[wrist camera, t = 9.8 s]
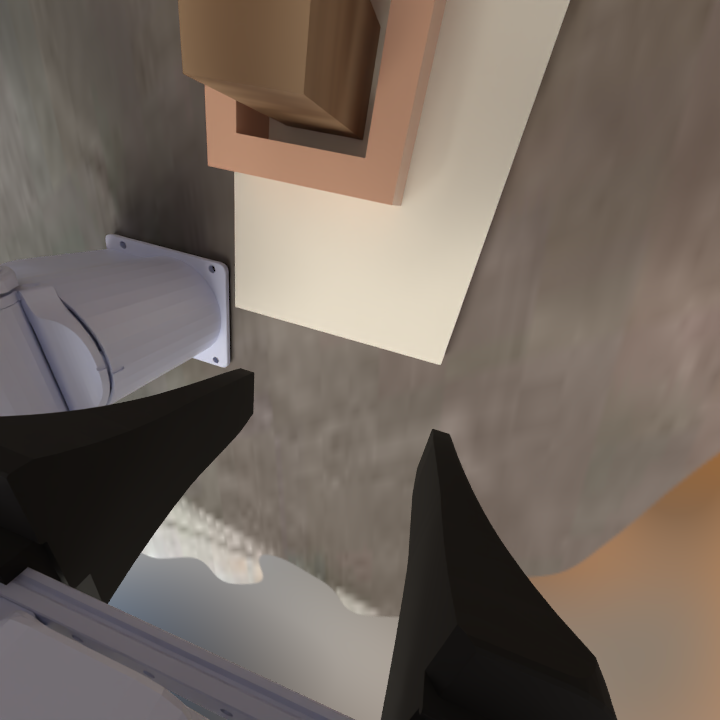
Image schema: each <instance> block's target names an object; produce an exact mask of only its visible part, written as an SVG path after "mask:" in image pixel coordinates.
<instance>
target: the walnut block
mask: <svg viewBox="0 0 720 720" xmlns="http://www.w3.org/2000/svg"><path fill="white" fill-rule="evenodd" d="M178 7H179V22H180V37H181V52H182V67H183V74H185V75H186V76H188V77H190V78H192V79H194V80H196V81H198V82H200V83H202V84H204V85H206V86H208V87H210V88H212V89H214V90H216V91H218V92H220V93H222V94H224V95H226V96H228V97H230V98H232V99H234V100H236V101H238V102H240V103H242V104H244V105H246V106H248V107H250V108H252V109H254V110H256V111H258V112H260V113H262V114H264V115H266V116H268V117H270V118H272V119H274V120H276V121H278V122H280V123H282V124H284V125H286V126H290V127H295V128H301V129H306V130H311V131H317V132H322V133H327V134H333V135H338V136H343V137H349V138H354V139H359V140H363V137H364V131H365V125H366V118H367V112H368V105H369V99H370V93H371V86H372V80H373V73H374V67H375V61H376V54H377V48H378V41H379V35H380V28H381V27H380V24H379V21H378V19H377V16H376V14H375V11H374V9H373V6H372V4H371V1H370V0H178Z"/></svg>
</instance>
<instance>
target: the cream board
mask: <svg viewBox="0 0 720 720" xmlns="http://www.w3.org/2000/svg"><path fill="white" fill-rule="evenodd" d="M370 1H371V4H372V6H373V9H374V11H375V14H376V16H377V19H378V21H379V24H380V27H381V28H380V35H379V41H378V48H377V54H376V61H375V67H374V73H373V80H372V86H371V93H370V99H369V105H368V112H367V118H366V125H365V131H364V137H363V140H359V139H354V138H349V137H343V136H338V135H333V134H327V133H322V132H317V131H311V130H306V129H301V128H295V127H290V126H286V125H284V124H282V123H280V122H278V121H276V120H274V119H272V118H270V117H269V140H274V141H280V142H285V143H290V144H295V145H300V146H305V147H310V148H315V149H321V150H326V151H331V152H336V153H341V154H346V155H351V156H356V157H361V158H365V157H366V151H367V145H368V139H369V133H370V127H371V121H372V114H373V108H374V102H375V96H376V90H377V84H378V77H379V71H380V65H381V59H382V53H383V47H384V41H385V34H386V28H387V22H388V16H389V10H390V4H391V0H370ZM569 2H570V0H447V1H446V6H445V10H444V15H443V19H442V24H441V28H440V33H439V37H438V42H437V46H436V51H435V55H434V60H433V64H432V69H431V73H430V78H429V82H428V87H427V91H426V96H425V100H424V105H423V109H422V114H421V118H420V123H419V127H418V132H417V136H416V141H415V145H414V150H413V154H412V159H411V163H410V168H409V172H408V177H407V181H406V186H405V190H404V195H403V199H402V204H401V206H394V205H388V204H383V203H378V202H374V201H369V200H364V199H360V198H355V197H351V196H346V195H341V194H337V193H332V192H327V191H323V190H318V189H313V188H309V187H304V186H299V185H295V184H290V183H285V182H281V181H276V180H272V179H267V178H262V177H258V176H253V175H248V174H244V173H239V172H234V191H235V307H238V308H242V309H245V310H249V311H252V312H256V313H259V314H263V315H266V316H270V317H273V318H277V319H280V320H284V321H287V322H291V323H294V324H298V325H301V326H305V327H308V328H312V329H315V330H319V331H322V332H326V333H330V334H333V335H337V336H340V337H344V338H347V339H351V340H354V341H358V342H361V343H365V344H368V345H372V346H375V347H379V348H382V349H386V350H389V351H393V352H396V353H400V354H403V355H407V356H410V357H414V358H417V359H421V360H425V361H428V362H432V363H435V364H439V365H441V362H442V360H443V357H444V354H445V351H446V348H447V346H448V343H449V340H450V337H451V334H452V331H453V329H454V326H455V323H456V320H457V317H458V315H459V312H460V309H461V306H462V303H463V301H464V298H465V295H466V292H467V289H468V286H469V284H470V281H471V278H472V275H473V272H474V270H475V267H476V264H477V261H478V258H479V255H480V253H481V250H482V247H483V244H484V241H485V239H486V236H487V233H488V230H489V227H490V224H491V222H492V219H493V216H494V213H495V210H496V208H497V205H498V202H499V199H500V196H501V194H502V191H503V188H504V185H505V182H506V179H507V177H508V174H509V171H510V168H511V165H512V163H513V160H514V157H515V154H516V151H517V148H518V146H519V143H520V140H521V137H522V134H523V132H524V129H525V126H526V123H527V120H528V117H529V115H530V112H531V109H532V106H533V103H534V101H535V98H536V95H537V92H538V89H539V86H540V84H541V81H542V78H543V75H544V72H545V70H546V67H547V64H548V61H549V58H550V56H551V53H552V50H553V47H554V44H555V41H556V39H557V36H558V33H559V30H560V27H561V25H562V22H563V19H564V16H565V13H566V10H567V8H568V5H569Z"/></svg>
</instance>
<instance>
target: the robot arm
mask: <svg viewBox="0 0 720 720" xmlns="http://www.w3.org/2000/svg"><path fill="white" fill-rule="evenodd" d="M125 244H126V245H125ZM106 245H107V249H103V250H95V251H86V252H78V253H70V254H61V255H53V256H44V257H36V258H27V259H19V260H14V261H9V262H6V263H3V264H0V720H209V719H207V718H206V717H204V716H202V715H200V714H199V713H197V712H195V711H194V710H192V709H190V708H188V707H187V706H185V705H184V704H183V703H182V702H181V701H180V700H179V699H178V698H177V697H175V696H174V695H173V694H171V693H170V692H169V691H168V690H170V691H171V692H174V693H175V694H177V695H179V696H182V697H184V698H185V699H187V700H190V701H192V702H194V703H196V704H198V705H200V706H202V707H204V708H206V709H208V710H210V711H212V712H214V713H216V714H218V715H220V716H222V717H224V718H226V719H228V720H355V719H353V718H350V717H348V716H346V715H344V714H342V713H339V712H338V711H335V710H333V709H331V708H329V707H327V706H324V705H323V704H320V703H318V702H316V701H314V700H312V699H310V698H308V697H305V696H303V695H301V694H299V693H297V692H295V691H292V690H290V689H288V688H286V687H284V686H282V685H280V684H277V683H275V682H273V681H271V680H269V679H267V678H265V677H263V676H260V675H258V674H256V673H254V672H252V671H250V670H247V669H245V668H243V667H241V666H239V665H237V664H235V663H233V662H230V661H228V660H226V659H224V658H222V657H220V656H217V655H215V654H213V653H211V652H209V651H207V650H205V649H202V648H200V647H198V646H196V645H194V644H192V643H190V642H187V641H185V640H183V639H181V638H179V637H177V636H175V635H172V634H170V633H168V632H166V631H164V630H162V629H160V628H157V627H155V626H153V625H151V624H149V623H147V622H145V621H142V620H140V619H138V618H136V617H134V616H132V615H130V614H127V613H125V612H123V611H121V610H119V609H117V608H114V607H113V606H110V605H108V602H109V601H110V599H111V598H112V596H113V594H114V593H115V591H116V590H117V588H118V586H119V585H120V584H121V582H122V581H123V579H124V577H125V576H126V574H127V573H128V571H129V570H130V568H131V567H132V565H133V563H134V562H135V561H136V559H137V558H138V556H139V555H140V553H141V552H142V551H143V549H144V548H145V546H146V545H147V543H148V542H149V540H150V539H151V538H152V536H153V535H154V533H155V532H156V530H157V529H158V528H159V526H160V525H161V524H162V522H163V521H164V520H165V518H166V517H167V515H168V514H169V513H170V511H171V510H172V509H173V507H174V506H175V505H176V504H177V502H178V501H179V500H180V498H181V497H182V496H183V495H184V493H185V492H186V491H187V489H188V488H189V487H190V486H191V484H192V483H193V482H194V481H195V480H196V479H197V478H198V476H199V475H200V474H201V473H202V472H203V471H204V470H205V469H206V468H207V467H208V466H209V465H210V464H211V463H212V462H213V460H214V459H215V458H216V457H217V456H218V455H219V454H220V453H221V452H222V451H223V450H224V449H225V448H226V447H227V446H228V445H229V444H230V442H231V441H232V440H233V439H234V438H235V437H236V436H237V435H238V434H239V433H240V431H241V430H242V428H243V427H244V426H245V424H246V423H247V422H248V420H249V419H250V417H251V416H252V414H253V403H254V372H250V371H247V370H244V369H241V368H240V369H236V370H233V371H230V372H226V373H223V374H220V375H217V376H214V377H212V378H209V379H206V380H203V381H200V382H197V383H194V384H191V385H187V386H184V387H181V388H177V389H174V390H171V391H167V392H164V393H160V394H157V395H153V396H149V397H145V398H141V399H136V400H132V401H127V402H122V403H117V404H113V403H115V402H116V401H118V400H120V399H121V398H123V397H125V396H127V395H128V394H130V393H132V392H134V391H135V390H137V389H139V388H141V387H142V386H144V385H146V384H147V383H149V382H151V381H153V380H154V379H156V378H158V377H160V376H161V375H163V374H165V373H167V372H168V371H170V370H172V369H173V368H175V367H177V366H179V365H180V364H182V363H184V362H186V361H187V360H189V359H191V358H195V359H198V360H201V361H204V362H208V363H211V364H214V365H217V366H220V367H226V366H228V365H229V364H230V327H229V271H228V268H227V266H226V265H225V264H224V263H222V262H218V261H215V260H211V259H207V258H203V257H199V256H196V255H192V254H188V253H184V252H180V251H177V250H173V249H169V248H165V247H162V246H158V245H154V244H150V243H146V242H143V241H139V240H135V239H131V238H127V237H124V236H120V235H116V234H108V235H106ZM212 266H214V267H215V271H214V270H213V268H212ZM216 358H218V360H217V359H216ZM381 720H617V718H616V715H615V712H614V708H613V705H612V702H611V699H610V695H609V692H608V689H607V686H606V683H605V680H604V678H603V675H602V673H601V670H600V668H599V665H598V662H597V660H596V657H595V656H594V655H593V654H592V653H591V652H590V650H589V649H588V648H587V647H586V646H585V645H584V644H583V643H582V641H581V640H580V639H579V638H578V637H577V636H576V635H575V634H574V633H573V631H572V630H571V629H570V628H569V627H568V626H567V625H566V624H565V622H564V621H563V620H562V619H561V618H560V617H559V616H558V615H557V614H556V612H555V611H554V610H553V609H552V608H551V606H550V605H549V604H548V603H547V602H546V600H545V599H544V598H543V597H542V595H541V594H540V593H539V592H538V590H537V589H536V588H535V587H534V585H533V584H532V583H531V581H530V580H529V579H528V578H527V576H526V575H525V574H524V572H523V571H522V570H521V568H520V567H519V565H518V564H517V563H516V561H515V560H514V558H513V557H512V556H511V554H510V553H509V551H508V550H507V549H506V547H505V546H504V544H503V543H502V541H501V540H500V538H499V537H498V535H497V533H496V532H495V530H494V529H493V527H492V525H491V524H490V522H489V520H488V518H487V517H486V515H485V513H484V511H483V510H482V508H481V506H480V504H479V502H478V500H477V498H476V496H475V494H474V492H473V490H472V488H471V486H470V484H469V482H468V479H467V477H466V475H465V473H464V470H463V468H462V466H461V463H460V461H459V458H458V456H457V453H456V450H455V448H454V445H453V442H452V439H451V437H450V435H449V434H447V433H444V432H441V431H438V430H435V429H432V431H431V434H430V436H429V439H428V442H427V444H426V447H425V449H424V452H423V455H422V457H421V460H420V462H419V465H418V468H417V472H416V478H415V483H414V489H413V496H412V510H411V525H410V541H409V556H408V565H407V573H406V579H405V586H404V592H403V598H402V605H401V611H400V616H399V622H398V628H397V635H396V640H395V646H394V652H393V657H392V663H391V668H390V674H389V679H388V685H387V690H386V695H385V701H384V706H383V711H382V717H381Z"/></svg>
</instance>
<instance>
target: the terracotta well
mask: <svg viewBox="0 0 720 720" xmlns="http://www.w3.org/2000/svg"><path fill="white" fill-rule="evenodd" d="M446 1H447V0H391V4H390V10H389V16H388V22H387V28H386V34H385V41H384V47H383V53H382V59H381V65H380V71H379V77H378V84H377V90H376V96H375V102H374V108H373V114H372V121H371V127H370V133H369V139H368V145H367V151H366V157H365V158H361V157H356V156H351V155H346V154H341V153H336V152H331V151H326V150H321V149H315V148H310V147H305V146H300V145H295V144H290V143H285V142H280V141H274V140H269V117H268V116H266V115H264V114H262V113H260V112H258V111H256V110H254V109H252V108H250V107H248V106H246V105H244V104H242V103H240V102H238V101H236V100H234V99H232V98H230V97H228V96H226V95H224V94H222V93H220V92H218V91H216V90H214V89H212V88H210V87H208V86H206V85H205V108H206V132H207V155H208V166H211V167H216V168H220V169H225V170H230V171H234V172H239V173H244V174H248V175H253V176H258V177H262V178H267V179H272V180H276V181H281V182H285V183H290V184H295V185H299V186H304V187H309V188H313V189H318V190H323V191H327V192H332V193H337V194H341V195H346V196H351V197H355V198H360V199H364V200H369V201H374V202H378V203H383V204H388V205H394V206H401V204H402V199H403V195H404V190H405V186H406V181H407V177H408V172H409V168H410V163H411V159H412V154H413V150H414V145H415V141H416V136H417V132H418V127H419V123H420V118H421V114H422V109H423V105H424V100H425V96H426V91H427V87H428V82H429V78H430V73H431V69H432V64H433V60H434V55H435V51H436V46H437V42H438V37H439V33H440V28H441V24H442V19H443V15H444V10H445V6H446Z"/></svg>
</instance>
